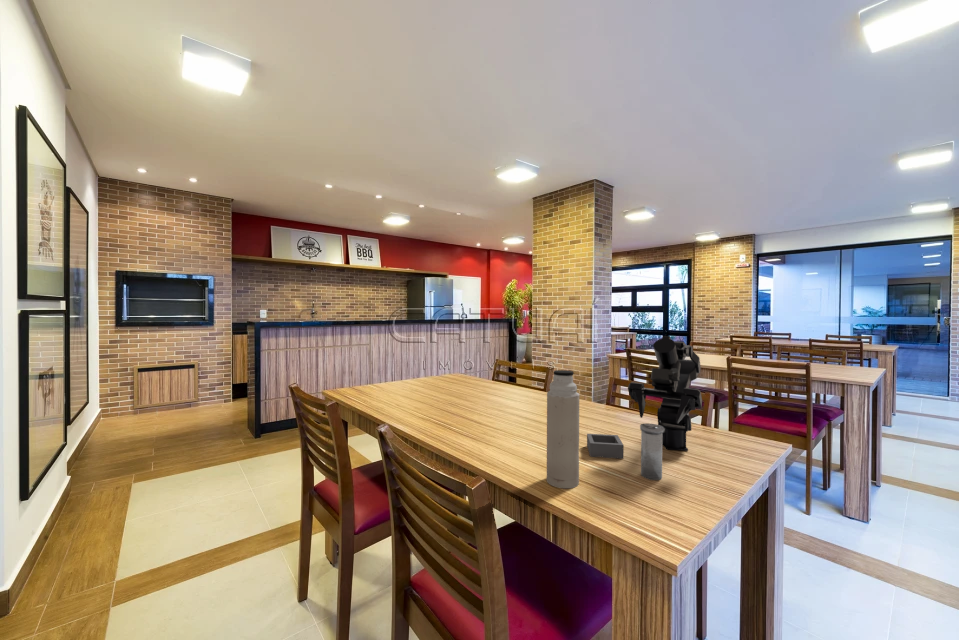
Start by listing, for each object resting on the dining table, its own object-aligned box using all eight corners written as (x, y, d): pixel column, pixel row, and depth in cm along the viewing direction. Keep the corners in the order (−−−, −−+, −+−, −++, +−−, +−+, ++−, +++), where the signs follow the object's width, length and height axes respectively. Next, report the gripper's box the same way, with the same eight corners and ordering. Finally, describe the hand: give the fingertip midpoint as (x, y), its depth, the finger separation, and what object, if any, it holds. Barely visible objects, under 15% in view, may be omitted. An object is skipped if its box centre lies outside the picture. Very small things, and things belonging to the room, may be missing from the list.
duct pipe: (659, 472, 102) (660, 424, 101) (666, 481, 96) (666, 430, 96) (637, 470, 103) (637, 422, 102) (642, 479, 97) (643, 429, 97)
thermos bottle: (540, 482, 95) (541, 371, 95) (555, 472, 102) (556, 367, 101) (570, 491, 90) (570, 374, 90) (584, 480, 96) (584, 370, 96)
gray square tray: (617, 447, 121) (617, 435, 121) (623, 458, 111) (623, 445, 111) (586, 445, 122) (587, 433, 122) (590, 456, 113) (590, 443, 113)
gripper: (629, 355, 115) (617, 398, 106) (700, 359, 103) (693, 408, 94) (637, 378, 121) (626, 420, 112) (704, 384, 109) (698, 432, 101)
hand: (658, 419), depth 105 cm, fingers open, 9 cm apart
